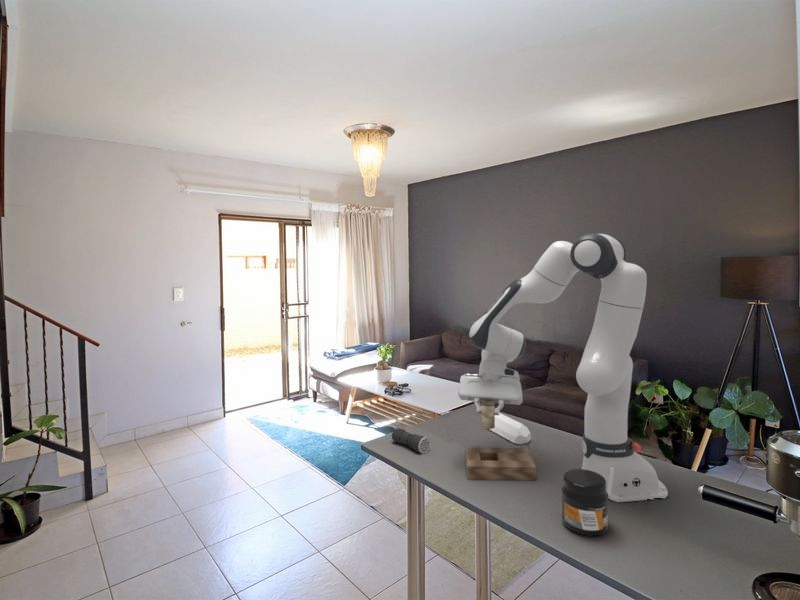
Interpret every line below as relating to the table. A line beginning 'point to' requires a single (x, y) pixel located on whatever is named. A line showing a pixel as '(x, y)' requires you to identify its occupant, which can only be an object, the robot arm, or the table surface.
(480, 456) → the socket block
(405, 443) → the flashlight
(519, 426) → the white faceted prism
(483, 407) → the beech pin
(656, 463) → the table surface
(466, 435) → the table surface
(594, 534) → the supplement container
